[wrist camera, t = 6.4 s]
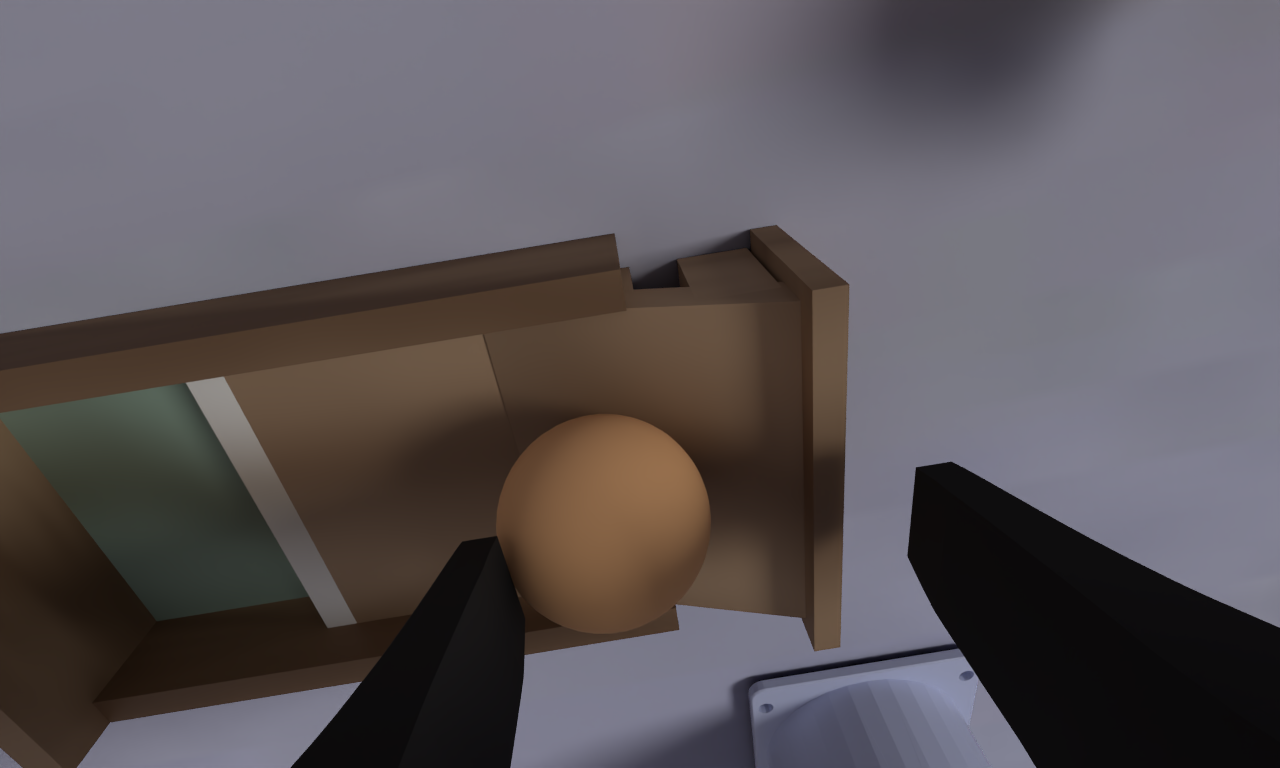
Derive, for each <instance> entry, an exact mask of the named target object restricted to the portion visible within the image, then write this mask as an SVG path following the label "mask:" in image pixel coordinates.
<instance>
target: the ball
mask: <svg viewBox="0 0 1280 768" xmlns="http://www.w3.org/2000/svg"><path fill="white" fill-rule="evenodd" d="M710 529H711V513H710V505H709V499H708V495H707V491H706V488H705V485H704V483H703V480H702V478H701V475H700V473H699V471H698V469H697V467H696V466H695V464H694V462H693V461H692V459H691V458H690V457H689V455H688V454H687V453H686V452H685V450H684V449H683V448H682V447H681V446H680V445H679V444H678V443H677V442H676V441H675V440H674V439H672V438H671V437H670V436H669V435H667V434H666V433H665V432H663V431H661V430H660V429H658V428H656V427H655V426H653V425H651V424H649V423H647V422H644V421H641V420H639V419H636V418H632V417H628V416H623V415H617V414H594V415H586V416H582V417H578V418H575V419H571V420H568V421H566V422H563V423H561V424H559V425H557V426H555V427H553V428H552V429H550V430H549V431H547V432H545V433H544V434H542V435H541V436H540V437H538V438H537V439H536V440H535V441H533V442H532V443H531V444H530V445H529V446H528V447H527V449H526V450H525V451H524V452H523V453H522V454H521V455H520V457H519V458H518V460H517V461H516V462H515V464H514V465H513V467H512V468H511V470H510V472H509V474H508V476H507V478H506V480H505V483H504V486H503V489H502V492H501V494H500V498H499V503H498V508H497V519H496V533H497V537H498V540H499V543H500V546H501V548H502V551H503V554H504V557H505V560H506V563H507V566H508V569H509V572H510V575H511V578H512V581H513V584H514V586H515V588H516V590H517V591H518V592H519V594H520V595H521V596H522V597H523V599H524V600H525V601H526V602H527V603H528V604H529V605H531V606H532V607H533V608H534V609H535V610H536V611H537V612H539V613H540V614H542V615H543V616H544V617H546V618H547V619H549V620H551V621H553V622H555V623H557V624H559V625H561V626H563V627H566V628H569V629H573V630H576V631H579V632H585V633H592V634H612V633H619V632H625V631H629V630H632V629H635V628H638V627H641V626H643V625H645V624H647V623H649V622H651V621H653V620H655V619H657V618H659V617H660V616H662V615H663V614H665V613H666V612H667V611H669V610H670V609H671V608H672V607H673V606H674V605H675V604H676V603H677V602H678V601H679V600H680V599H681V598H682V597H683V596H684V595H685V594H686V592H687V591H688V590H689V589H690V587H691V586H692V584H693V583H694V581H695V579H696V577H697V576H698V574H699V572H700V570H701V567H702V565H703V562H704V560H705V557H706V553H707V549H708V545H709V540H710Z"/></svg>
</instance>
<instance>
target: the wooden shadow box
mask: <svg viewBox="0 0 1280 768" xmlns="http://www.w3.org/2000/svg"><path fill="white" fill-rule="evenodd" d="M750 240H751V252H750V251H749V250H748V249H747V248H742V249H736V250H730V251H724V252H718V253H712V254H706V255H699V256H693V257H687V258H681V259H677V265H678V274H679V282H680V287H675V288H656V289H636V290H633V285H632V280H631V275H630V270H629V267H626V268H620V264H619V258H618V252H617V246H616V240H615V234H608V235H602V236H596V237H590V238H584V239H578V240H571V241H565V242H559V243H553V244H547V245H541V246H535V247H529V248H523V249H516V250H510V251H504V252H498V253H492V254H486V255H480V256H474V257H468V258H461V259H455V260H449V261H443V262H437V263H431V264H425V265H419V266H412V267H406V268H400V269H394V270H388V271H382V272H376V273H370V274H364V275H357V276H351V277H345V278H339V279H333V280H327V281H321V282H315V283H309V284H302V285H296V286H290V287H284V288H278V289H272V290H266V291H260V292H254V293H247V294H241V295H235V296H229V297H223V298H217V299H211V300H205V301H198V302H192V303H186V304H180V305H174V306H168V307H162V308H156V309H150V310H143V311H137V312H131V313H125V314H119V315H113V316H107V317H101V318H95V319H88V320H82V321H76V322H70V323H64V324H58V325H52V326H46V327H40V328H33V329H27V330H21V331H15V332H9V333H3V334H0V748H1V749H2V750H3V751H5V752H6V753H7V754H8V755H9V756H10V757H11V758H12V759H14V760H15V761H16V762H17V763H18V764H19V765H20V766H21V767H23V768H77V767H78V765H79V764H80V762H81V761H82V760H83V758H84V757H85V756H86V754H87V753H88V752H89V750H90V749H91V748H92V746H93V745H94V744H95V742H96V741H97V739H98V738H99V737H100V735H101V734H102V733H103V731H104V730H105V729H106V727H107V726H108V725H109V723H110V722H115V721H122V720H128V719H134V718H140V717H146V716H152V715H158V714H165V713H171V712H177V711H183V710H189V709H195V708H201V707H208V706H214V705H220V704H226V703H232V702H238V701H244V700H251V699H257V698H263V697H269V696H275V695H281V694H288V693H294V692H300V691H306V690H312V689H318V688H324V687H331V686H337V685H343V684H349V683H355V682H361V681H363V680H364V678H365V677H366V676H367V675H368V673H369V672H370V671H371V669H372V668H373V667H374V666H375V664H376V663H377V662H378V660H379V659H380V658H381V656H382V655H383V654H384V652H385V651H386V650H387V648H388V647H389V645H390V644H391V643H392V641H393V640H394V638H395V637H396V636H397V634H398V633H399V631H400V630H401V629H402V627H403V626H404V624H405V623H406V622H407V620H408V619H409V617H410V616H411V615H412V613H413V612H414V610H415V609H416V607H417V606H418V605H419V603H420V602H421V600H422V599H423V597H424V596H425V594H426V593H427V591H428V590H429V588H430V587H431V586H432V584H433V583H434V581H435V580H436V578H437V577H438V575H439V574H440V572H441V571H442V569H443V568H444V566H445V565H446V563H447V562H448V560H449V559H450V557H451V556H452V555H453V553H454V552H455V550H456V549H457V547H458V546H459V545H460V544H461V542H462V541H468V540H474V539H480V538H487V537H493V536H497V533H496V519H497V508H498V503H499V498H500V494H501V492H502V489H503V486H504V483H505V480H506V478H507V476H508V474H509V472H510V470H511V468H512V467H513V465H514V464H515V462H516V461H517V460H518V458H519V457H520V455H521V454H522V453H523V452H524V451H525V450H526V449H527V447H528V446H529V445H530V444H531V443H532V442H533V441H535V440H536V439H537V438H538V437H540V436H541V435H542V434H544V433H545V432H547V431H549V430H550V429H552V428H553V427H555V426H557V425H559V424H561V423H563V422H566V421H568V420H571V419H575V418H578V417H582V416H586V415H594V414H617V415H623V416H628V417H632V418H636V419H639V420H641V421H644V422H647V423H649V424H651V425H653V426H655V427H656V428H658V429H660V430H661V431H663V432H665V433H666V434H667V435H669V436H670V437H671V438H672V439H674V440H675V441H676V442H677V443H678V444H679V445H680V446H681V447H682V448H683V449H684V450H685V452H686V453H687V454H688V455H689V457H690V458H691V459H692V461H693V462H694V464H695V466H696V467H697V469H698V471H699V473H700V475H701V478H702V480H703V483H704V485H705V488H706V491H707V495H708V499H709V505H710V513H711V529H710V540H709V545H708V549H707V553H706V557H705V560H704V562H703V565H702V567H701V570H700V572H699V574H698V576H697V577H696V579H695V581H694V583H693V584H692V586H691V587H690V589H689V590H688V591H687V592H686V594H685V595H684V596H683V597H682V598H681V599H680V600H679V601H678V602H677V603H676V604H678V605H688V606H697V607H706V608H716V609H725V610H734V611H743V612H753V613H762V614H771V615H781V616H790V617H799V618H802V620H803V623H804V626H805V628H806V631H807V633H808V636H809V638H810V641H811V644H812V646H813V649H814V651H819V650H825V649H831V648H838V647H840V635H841V595H842V555H843V515H844V476H845V436H846V396H847V356H848V317H849V284H848V283H847V282H846V281H844V280H843V279H842V278H841V277H840V276H838V275H837V274H836V273H835V272H833V271H832V270H831V269H830V268H828V267H827V266H826V265H825V264H824V263H822V262H821V261H820V260H819V259H817V258H816V257H815V256H814V255H812V254H811V253H810V252H809V251H808V250H806V249H805V248H804V247H803V246H801V245H800V244H799V243H798V242H796V241H795V240H794V239H793V238H792V237H790V236H789V235H788V234H787V233H785V232H784V231H783V230H782V229H780V228H779V227H778V226H777V225H775V226H768V227H762V228H756V229H750ZM515 589H516V588H515ZM516 592H517V595H518V598H519V601H520V604H521V607H522V610H523V613H524V616H525V654H524V655H527V654H533V653H540V652H546V651H552V650H558V649H564V648H570V647H576V646H583V645H589V644H595V643H601V642H607V641H613V640H620V639H626V638H632V637H638V636H644V635H650V634H656V633H663V632H669V631H675V630H679V624H678V618H677V612H676V606H675V605H674V606H673V607H672V608H671V609H670V610H669V611H667V612H666V613H665V614H663V615H662V616H660V617H659V618H657V619H655V620H653V621H651V622H649V623H647V624H645V625H643V626H641V627H638V628H635V629H632V630H629V631H625V632H619V633H612V634H592V633H585V632H579V631H576V630H573V629H569V628H566V627H563V626H561V625H559V624H557V623H555V622H553V621H551V620H549V619H547V618H546V617H544V616H543V615H542V614H540V613H539V612H537V611H536V610H535V609H534V608H533V607H532V606H531V605H529V604H528V603H527V602H526V601H525V600H524V599H523V597H522V596H521V595H520V594H519V592H518V591H517V590H516Z"/></svg>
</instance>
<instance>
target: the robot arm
mask: <svg viewBox="0 0 1280 768" xmlns="http://www.w3.org/2000/svg"><path fill="white" fill-rule="evenodd" d="M908 558H909V561H910V563H911V565H912V567H913V569H914V571H915V573H916V575H917V577H918V579H919V581H920V584H921V586H922V588H923V590H924V591H925V593H926V595H927V597H928V599H929V601H930V603H931V605H932V607H933V609H934V611H935V613H936V614H937V616H938V617H939V619H940V620H941V622H942V623H943V625H944V627H945V628H946V630H947V631H948V633H949V634H950V636H951V637H952V639H953V640H954V642H955V643H956V645H957V647H958V649H952V650H946V651H940V652H934V653H928V654H921V655H915V656H909V657H903V658H897V659H891V660H885V661H878V662H872V663H866V664H860V665H854V666H848V667H841V668H835V669H829V670H823V671H817V672H811V673H805V674H798V675H792V676H786V677H780V678H774V679H768V680H762V681H758V682H756V683H754V684H753V685H752V686H751V687H750V688H749V703H750V715H751V726H752V737H753V748H754V759H755V768H992V766H991V765H990V763H989V761H988V759H987V758H986V756H985V754H984V753H983V751H982V749H981V747H980V746H979V744H978V742H977V740H976V739H975V737H974V735H973V734H972V732H971V730H970V728H969V724H970V719H971V714H972V709H973V704H974V699H975V694H976V689H977V684H978V679H979V680H980V681H981V683H982V684H983V686H984V687H985V689H986V690H987V692H988V693H989V695H990V696H991V698H992V699H993V701H994V702H995V704H996V705H997V707H998V708H999V710H1000V711H1001V713H1002V715H1003V716H1004V718H1005V719H1006V721H1007V722H1008V724H1009V725H1010V727H1011V728H1012V730H1013V731H1014V733H1015V734H1016V736H1017V737H1018V739H1019V740H1020V742H1021V743H1022V745H1023V747H1024V748H1025V750H1026V752H1027V753H1028V755H1029V756H1030V758H1031V760H1032V761H1033V763H1034V765H1035V766H1036V768H1280V628H1279V627H1277V626H1274V625H1272V624H1270V623H1267V622H1265V621H1263V620H1260V619H1258V618H1256V617H1254V616H1251V615H1249V614H1247V613H1244V612H1242V611H1240V610H1237V609H1235V608H1233V607H1231V606H1228V605H1226V604H1224V603H1221V602H1219V601H1217V600H1214V599H1212V598H1210V597H1208V596H1205V595H1203V594H1201V593H1199V592H1197V591H1195V590H1193V589H1190V588H1188V587H1186V586H1184V585H1182V584H1180V583H1178V582H1175V581H1173V580H1171V579H1169V578H1167V577H1165V576H1163V575H1161V574H1159V573H1157V572H1155V571H1153V570H1151V569H1149V568H1147V567H1145V566H1143V565H1141V564H1139V563H1137V562H1135V561H1133V560H1131V559H1129V558H1127V557H1125V556H1123V555H1121V554H1119V553H1117V552H1115V551H1113V550H1111V549H1109V548H1108V547H1106V546H1104V545H1102V544H1100V543H1098V542H1096V541H1094V540H1092V539H1090V538H1089V537H1087V536H1085V535H1083V534H1081V533H1079V532H1077V531H1076V530H1074V529H1072V528H1070V527H1068V526H1066V525H1065V524H1063V523H1061V522H1059V521H1057V520H1056V519H1054V518H1052V517H1050V516H1048V515H1047V514H1045V513H1043V512H1041V511H1039V510H1038V509H1036V508H1034V507H1032V506H1031V505H1029V504H1027V503H1025V502H1023V501H1022V500H1020V499H1018V498H1016V497H1015V496H1013V495H1011V494H1009V493H1008V492H1006V491H1004V490H1002V489H1001V488H999V487H997V486H995V485H993V484H992V483H990V482H988V481H986V480H985V479H983V478H981V477H979V476H977V475H976V474H974V473H972V472H970V471H968V470H967V469H965V468H963V467H961V466H959V465H957V464H955V463H953V462H947V463H941V464H934V465H928V466H922V467H916V472H915V483H914V493H913V504H912V514H911V525H910V535H909V546H908ZM524 654H525V616H524V613H523V610H522V607H521V604H520V601H519V598H518V595H517V592H516V589H515V586H514V584H513V581H512V578H511V575H510V572H509V569H508V566H507V563H506V560H505V557H504V554H503V551H502V548H501V546H500V543H499V540H498V537H497V536H493V537H487V538H480V539H474V540H468V541H462V542H461V544H460V545H459V546H458V547H457V549H456V550H455V552H454V553H453V555H452V556H451V557H450V559H449V560H448V562H447V563H446V565H445V566H444V568H443V569H442V571H441V572H440V574H439V575H438V577H437V578H436V580H435V581H434V583H433V584H432V586H431V587H430V588H429V590H428V591H427V593H426V594H425V596H424V597H423V599H422V600H421V602H420V603H419V605H418V606H417V607H416V609H415V610H414V612H413V613H412V615H411V616H410V617H409V619H408V620H407V622H406V623H405V624H404V626H403V627H402V629H401V630H400V631H399V633H398V634H397V636H396V637H395V638H394V640H393V641H392V643H391V644H390V645H389V647H388V648H387V650H386V651H385V652H384V654H383V655H382V656H381V658H380V659H379V660H378V662H377V663H376V664H375V666H374V667H373V668H372V669H371V671H370V672H369V673H368V675H367V676H366V677H365V678H364V680H363V681H362V682H361V684H360V685H359V686H358V687H357V689H356V690H355V691H354V693H353V694H352V695H351V696H350V698H349V699H348V700H347V702H346V703H345V704H344V705H343V707H342V708H341V709H340V710H339V712H338V713H337V714H336V715H335V717H334V718H333V719H332V720H331V721H330V723H329V724H328V725H327V726H326V727H325V729H324V730H323V731H322V732H321V733H320V735H319V736H318V737H317V738H316V739H315V740H314V742H313V743H312V744H311V745H310V746H309V747H308V749H307V750H306V751H305V752H304V753H303V754H302V755H301V756H300V758H299V759H298V760H297V761H296V762H295V763H294V764H293V765H292V767H291V768H510V766H511V759H512V753H513V746H514V740H515V733H516V727H517V720H518V713H519V706H520V699H521V692H522V685H523V677H524Z"/></svg>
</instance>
